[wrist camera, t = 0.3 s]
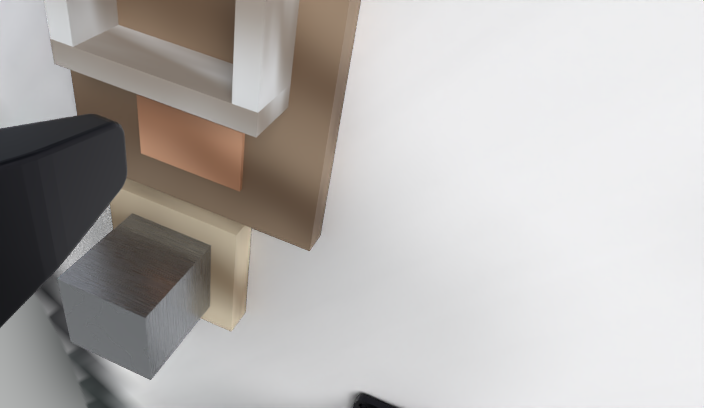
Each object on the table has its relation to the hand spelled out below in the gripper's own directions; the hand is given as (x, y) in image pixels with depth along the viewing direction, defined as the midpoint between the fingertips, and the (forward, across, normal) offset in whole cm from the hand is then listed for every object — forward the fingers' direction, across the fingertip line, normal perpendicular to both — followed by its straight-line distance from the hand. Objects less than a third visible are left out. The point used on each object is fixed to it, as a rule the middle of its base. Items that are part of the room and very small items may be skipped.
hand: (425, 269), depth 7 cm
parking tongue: (+14, +13, +17) cm, 26 cm away
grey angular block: (+13, +13, +17) cm, 25 cm away
